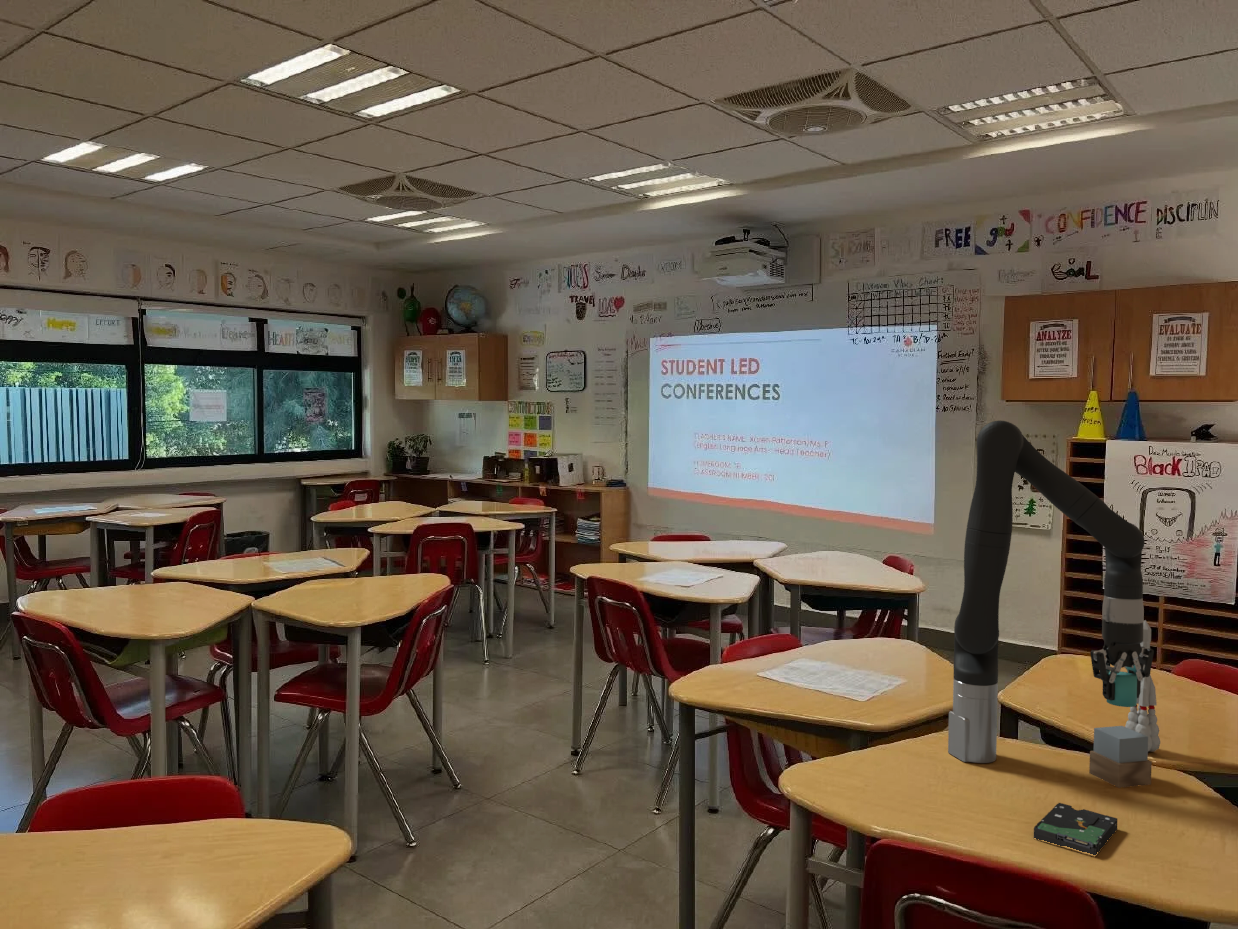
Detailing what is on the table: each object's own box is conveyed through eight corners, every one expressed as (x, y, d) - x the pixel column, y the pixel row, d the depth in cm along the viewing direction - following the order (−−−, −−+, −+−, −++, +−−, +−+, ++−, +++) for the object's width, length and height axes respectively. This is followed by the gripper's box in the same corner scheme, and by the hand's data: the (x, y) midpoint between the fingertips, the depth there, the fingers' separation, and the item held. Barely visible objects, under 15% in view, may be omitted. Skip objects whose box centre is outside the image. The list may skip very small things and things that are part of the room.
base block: (1118, 788, 182) (1119, 764, 182) (1089, 774, 190) (1089, 751, 190) (1151, 785, 184) (1151, 761, 184) (1120, 771, 192) (1121, 748, 191)
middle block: (1118, 763, 183) (1119, 739, 182) (1093, 751, 189) (1094, 728, 189) (1147, 760, 184) (1148, 736, 184) (1121, 748, 191) (1121, 725, 191)
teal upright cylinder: (1120, 708, 183) (1121, 679, 183) (1100, 700, 188) (1100, 672, 188) (1142, 706, 184) (1143, 677, 184) (1122, 698, 189) (1122, 670, 189)
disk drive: (1057, 816, 170) (1032, 842, 159) (1057, 801, 170) (1033, 826, 159) (1117, 832, 163) (1096, 861, 152) (1118, 817, 163) (1097, 844, 152)
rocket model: (1157, 747, 205) (1161, 618, 204) (1162, 758, 199) (1166, 625, 197) (1121, 743, 208) (1125, 615, 207) (1124, 753, 202) (1128, 622, 200)
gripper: (1137, 613, 191) (1135, 691, 191) (1080, 616, 187) (1078, 695, 188) (1166, 620, 183) (1164, 701, 184) (1107, 623, 180) (1105, 706, 181)
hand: (1121, 698), depth 186 cm, fingers closed on teal upright cylinder, 5 cm apart
